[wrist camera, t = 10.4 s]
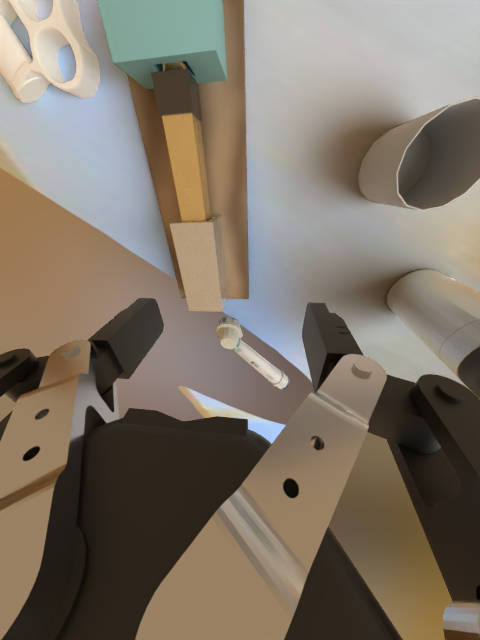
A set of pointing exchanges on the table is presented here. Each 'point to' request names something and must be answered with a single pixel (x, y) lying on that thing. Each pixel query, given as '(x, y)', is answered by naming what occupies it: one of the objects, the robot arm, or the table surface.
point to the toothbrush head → (249, 352)
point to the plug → (184, 138)
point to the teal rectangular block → (166, 37)
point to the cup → (425, 159)
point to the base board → (209, 154)
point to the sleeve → (202, 263)
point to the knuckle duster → (45, 50)
